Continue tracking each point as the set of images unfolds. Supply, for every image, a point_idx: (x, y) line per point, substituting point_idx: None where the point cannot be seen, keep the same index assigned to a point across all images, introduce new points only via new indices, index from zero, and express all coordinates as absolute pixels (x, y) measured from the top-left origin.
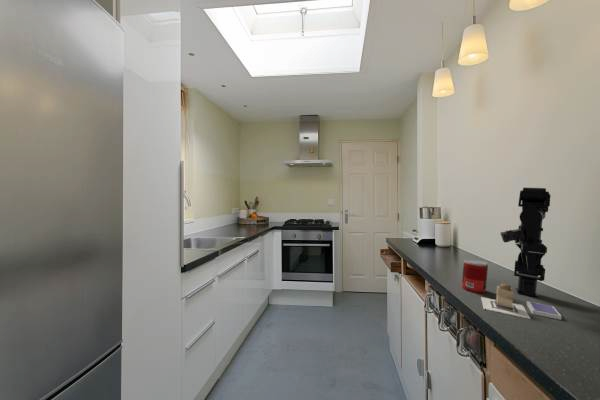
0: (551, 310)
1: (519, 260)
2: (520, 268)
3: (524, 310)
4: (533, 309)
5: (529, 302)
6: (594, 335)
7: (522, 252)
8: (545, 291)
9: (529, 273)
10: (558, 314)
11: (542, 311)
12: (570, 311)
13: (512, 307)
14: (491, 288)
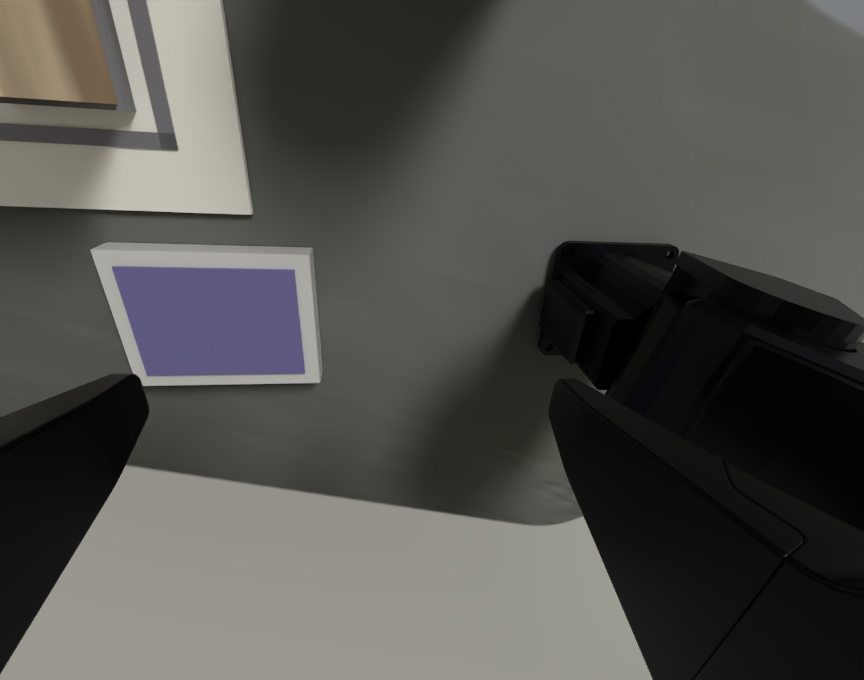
0: (195, 357)
1: (762, 368)
2: (661, 328)
3: (112, 200)
4: (117, 258)
5: (290, 266)
6: None
7: (721, 530)
8: None
9: (614, 382)
10: (152, 376)
11: (125, 305)
12: (364, 437)
13: (9, 101)
14: (625, 43)
